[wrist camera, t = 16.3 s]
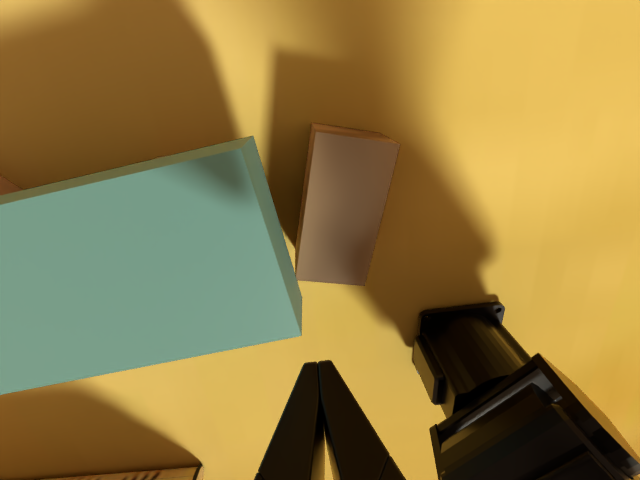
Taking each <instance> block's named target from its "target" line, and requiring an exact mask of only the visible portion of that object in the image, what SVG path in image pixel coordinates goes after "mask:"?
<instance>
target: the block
mask: <svg viewBox="0 0 640 480" xmlns="http://www.w3.org/2000/svg"><path fill="white" fill-rule="evenodd" d="M399 147H400V144H399V143H397V142H395V141H394V140H392V139H390V138H388V137H386V136H385V135H383V134H381V133H377V132H370V131H364V130H357V129H350V128H344V127H337V126H331V125H324V124H317V123H312V124H311V132H310V139H309V147H308V154H307V162H306V170H305V177H304V185H303V193H302V200H301V208H300V216H299V223H298V231H297V239H296V246H295V276H296V279H297V280H300V281H312V282H324V283H336V284H348V285H359V286H365V282H366V278H367V274H368V270H369V266H370V262H371V258H372V255H373V251H374V247H375V243H376V239H377V235H378V231H379V227H380V223H381V219H382V215H383V211H384V207H385V203H386V199H387V195H388V191H389V187H390V183H391V179H392V175H393V171H394V167H395V163H396V159H397V155H398V151H399Z"/></svg>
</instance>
